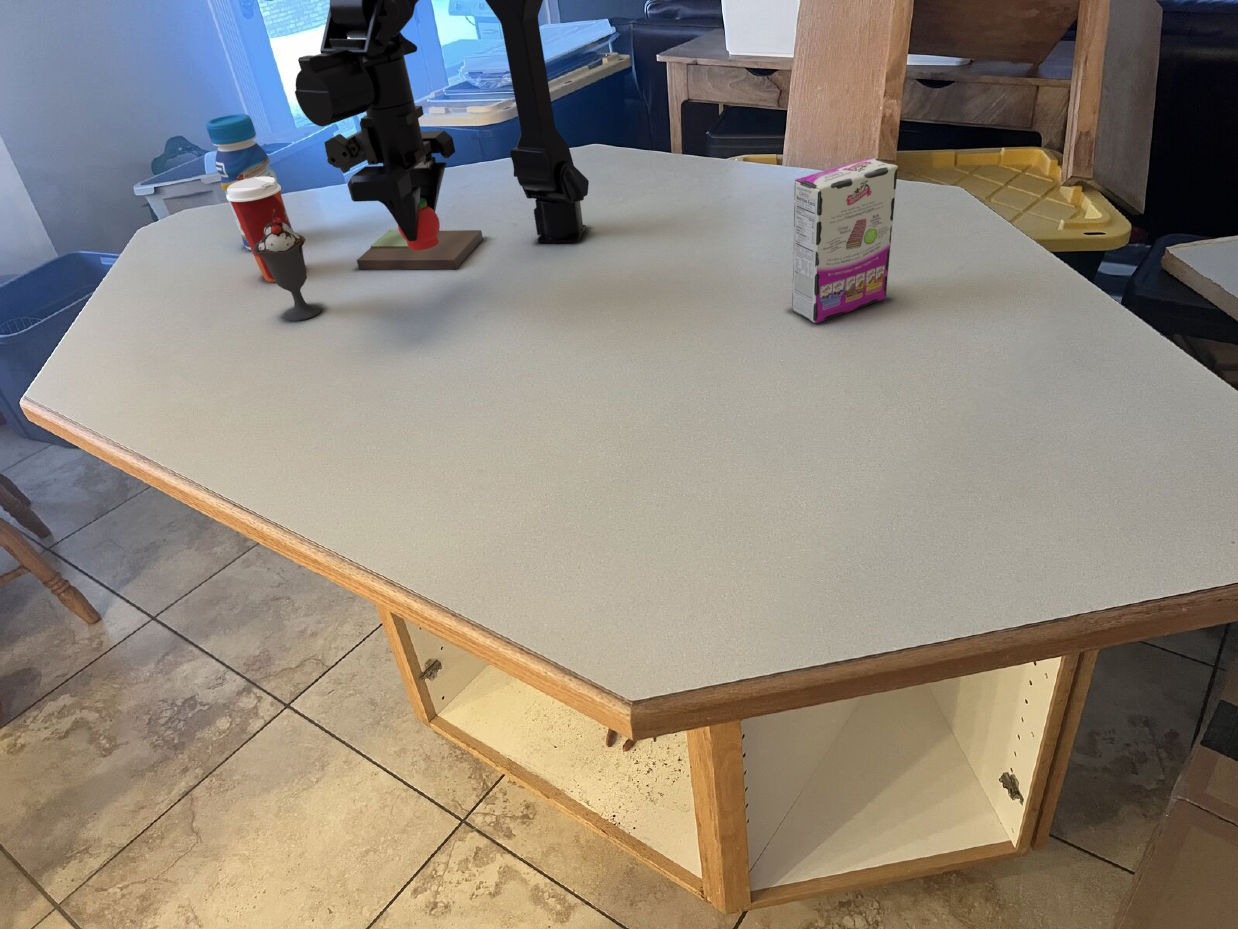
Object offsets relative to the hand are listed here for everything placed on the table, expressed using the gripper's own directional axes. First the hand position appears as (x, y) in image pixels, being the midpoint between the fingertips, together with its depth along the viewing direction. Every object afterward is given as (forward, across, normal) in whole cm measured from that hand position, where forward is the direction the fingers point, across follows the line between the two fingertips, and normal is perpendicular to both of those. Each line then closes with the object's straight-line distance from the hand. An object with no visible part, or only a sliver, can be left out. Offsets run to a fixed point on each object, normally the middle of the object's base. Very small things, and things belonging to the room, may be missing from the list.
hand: (420, 232), depth 105 cm
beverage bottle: (+11, -25, -40) cm, 49 cm away
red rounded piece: (+2, 0, 0) cm, 2 cm away
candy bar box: (+11, -2, +52) cm, 53 cm away
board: (+11, -19, -11) cm, 25 cm away
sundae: (+11, +2, -20) cm, 23 cm away
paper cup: (+11, -12, -31) cm, 34 cm away
